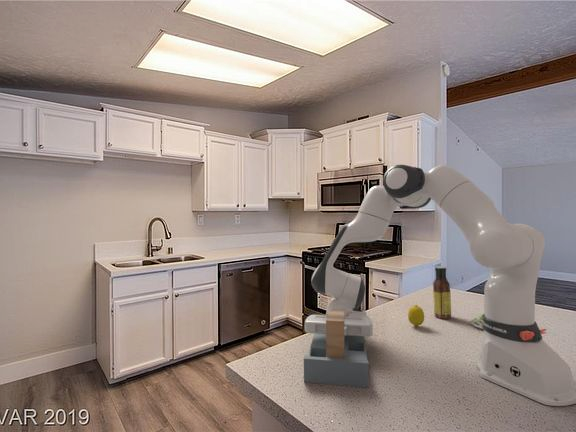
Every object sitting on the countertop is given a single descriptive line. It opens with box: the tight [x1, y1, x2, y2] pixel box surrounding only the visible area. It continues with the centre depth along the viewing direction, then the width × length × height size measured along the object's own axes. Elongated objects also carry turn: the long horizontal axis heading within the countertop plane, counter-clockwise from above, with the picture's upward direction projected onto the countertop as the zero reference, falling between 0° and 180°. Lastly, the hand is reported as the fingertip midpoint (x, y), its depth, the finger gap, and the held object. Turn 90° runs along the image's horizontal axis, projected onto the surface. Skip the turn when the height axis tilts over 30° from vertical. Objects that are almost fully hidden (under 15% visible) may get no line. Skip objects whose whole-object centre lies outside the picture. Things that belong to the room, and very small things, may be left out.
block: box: [326, 311, 345, 359], centre depth 88 cm, size 8×4×12 cm, turn 169°
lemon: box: [407, 304, 425, 328], centre depth 119 cm, size 6×6×8 cm
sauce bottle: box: [432, 266, 452, 320], centre depth 130 cm, size 6×6×20 cm
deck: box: [303, 333, 370, 388], centre depth 94 cm, size 26×16×6 cm, turn 169°
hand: (337, 335), depth 92 cm, fingers closed, pressing on block
